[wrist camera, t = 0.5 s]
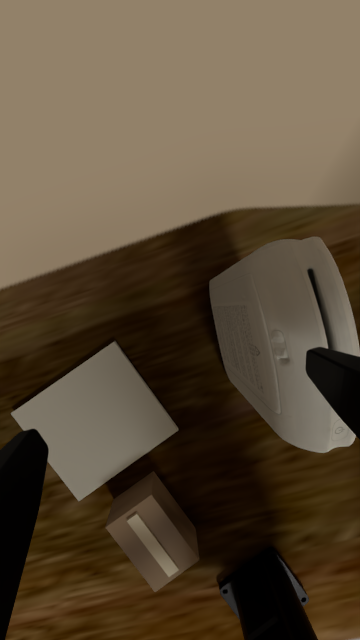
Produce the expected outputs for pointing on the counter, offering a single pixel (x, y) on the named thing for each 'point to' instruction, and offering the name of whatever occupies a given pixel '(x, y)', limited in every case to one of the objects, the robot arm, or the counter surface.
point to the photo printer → (285, 336)
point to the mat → (97, 420)
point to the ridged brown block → (153, 531)
